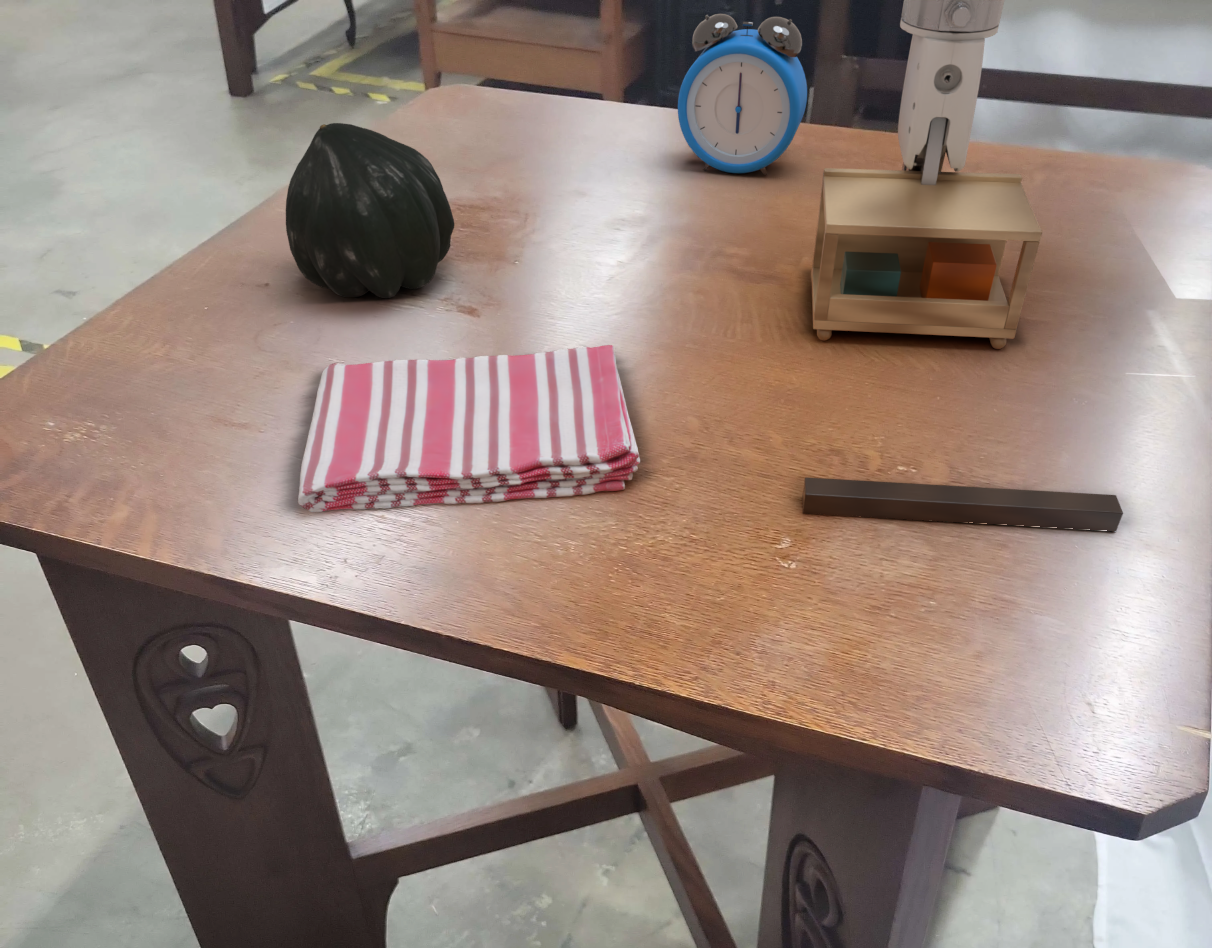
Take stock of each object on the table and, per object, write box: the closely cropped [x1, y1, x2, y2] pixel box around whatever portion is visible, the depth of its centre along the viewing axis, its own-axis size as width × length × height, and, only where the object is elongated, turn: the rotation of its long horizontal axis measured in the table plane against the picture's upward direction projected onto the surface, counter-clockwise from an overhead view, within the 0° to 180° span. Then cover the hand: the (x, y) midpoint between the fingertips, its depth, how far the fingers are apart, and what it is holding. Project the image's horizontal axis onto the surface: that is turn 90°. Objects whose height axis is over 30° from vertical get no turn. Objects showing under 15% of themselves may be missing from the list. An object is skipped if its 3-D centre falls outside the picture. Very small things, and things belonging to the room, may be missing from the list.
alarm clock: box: [677, 13, 808, 176], centre depth 113 cm, size 13×6×15 cm, turn 74°
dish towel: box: [297, 344, 641, 513], centre depth 77 cm, size 17×23×4 cm
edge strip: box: [801, 476, 1124, 532], centre depth 69 cm, size 20×2×2 cm, turn 83°
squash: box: [285, 122, 455, 299], centre depth 93 cm, size 14×15×15 cm
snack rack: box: [810, 167, 1043, 350], centre depth 87 cm, size 16×11×10 cm
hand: (908, 236), depth 95 cm, fingers closed
